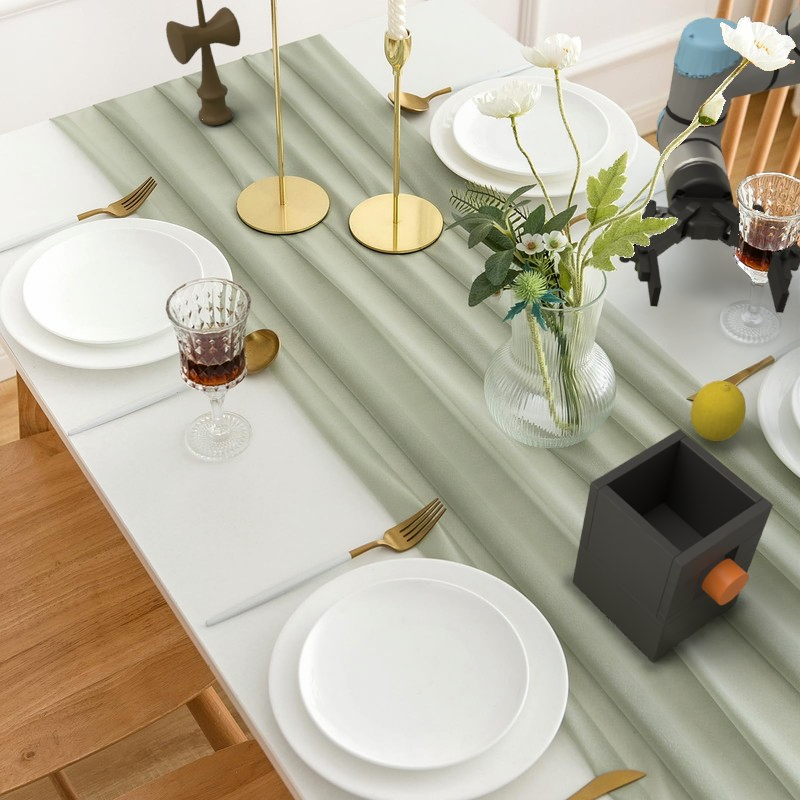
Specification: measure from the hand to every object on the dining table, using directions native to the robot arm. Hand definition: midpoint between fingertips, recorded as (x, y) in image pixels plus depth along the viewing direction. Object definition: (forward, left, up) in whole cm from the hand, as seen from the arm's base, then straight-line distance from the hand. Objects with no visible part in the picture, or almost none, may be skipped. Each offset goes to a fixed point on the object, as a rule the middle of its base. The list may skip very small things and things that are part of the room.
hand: (719, 300), depth 118 cm
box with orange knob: (+8, +31, -11) cm, 34 cm away
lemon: (0, +10, -11) cm, 15 cm away
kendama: (+67, -51, -11) cm, 85 cm away
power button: (+4, +36, -3) cm, 36 cm away
